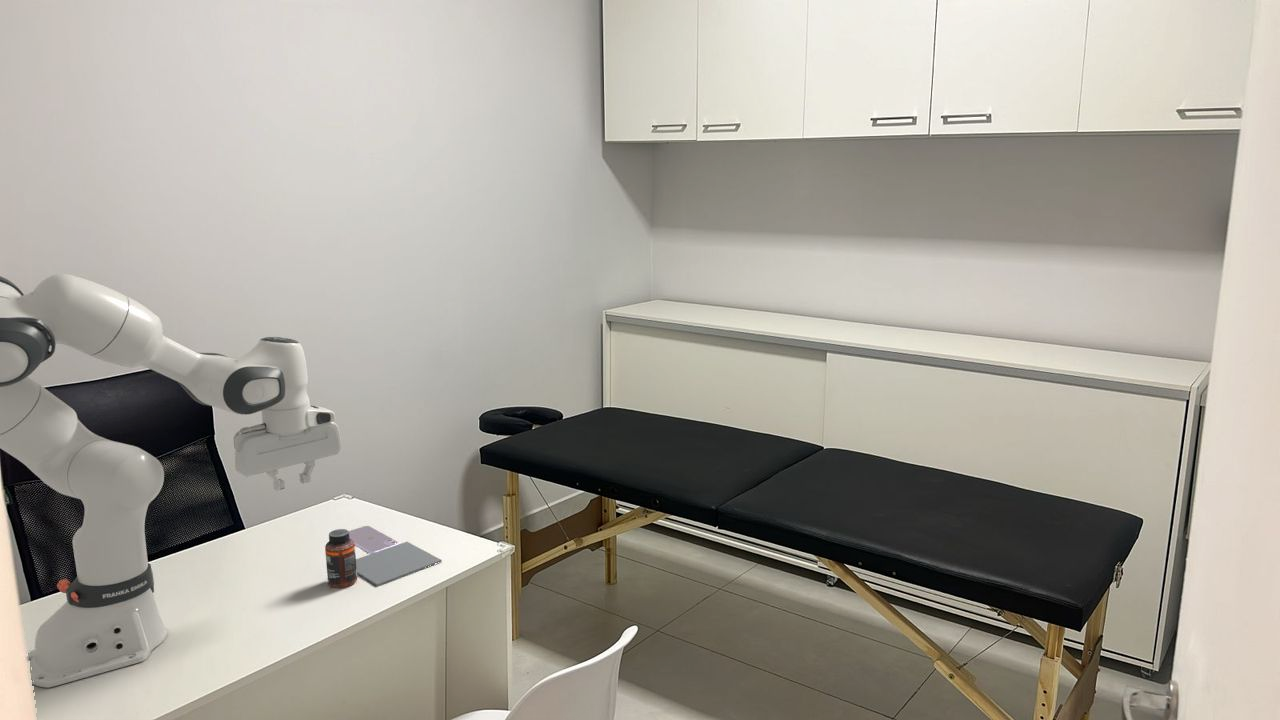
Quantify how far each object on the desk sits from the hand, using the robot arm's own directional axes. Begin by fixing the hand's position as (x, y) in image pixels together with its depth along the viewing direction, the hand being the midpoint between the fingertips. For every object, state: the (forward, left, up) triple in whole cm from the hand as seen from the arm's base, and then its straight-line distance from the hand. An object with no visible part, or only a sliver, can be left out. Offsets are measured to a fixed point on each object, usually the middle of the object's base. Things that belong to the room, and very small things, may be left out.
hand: (292, 485), depth 175 cm
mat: (+21, 0, -24) cm, 32 cm away
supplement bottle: (+9, 0, -24) cm, 26 cm away
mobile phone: (+24, +15, -25) cm, 38 cm away
